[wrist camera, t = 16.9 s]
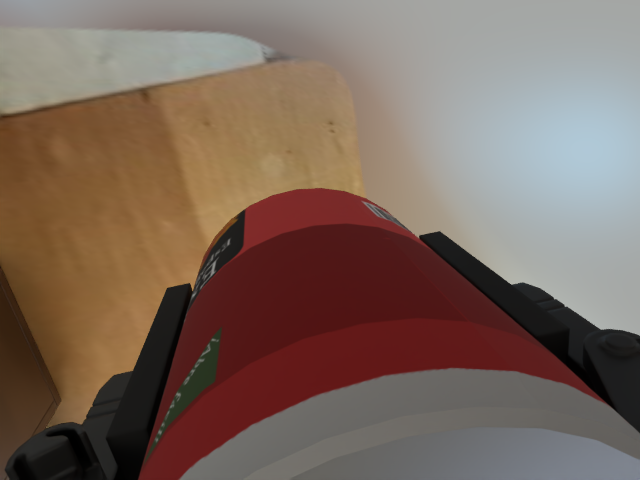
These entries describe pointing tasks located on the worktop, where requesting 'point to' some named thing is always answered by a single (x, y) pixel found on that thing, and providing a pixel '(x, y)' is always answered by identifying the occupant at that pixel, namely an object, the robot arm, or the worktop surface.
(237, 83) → the worktop surface
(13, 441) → the storage box
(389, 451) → the canned food
